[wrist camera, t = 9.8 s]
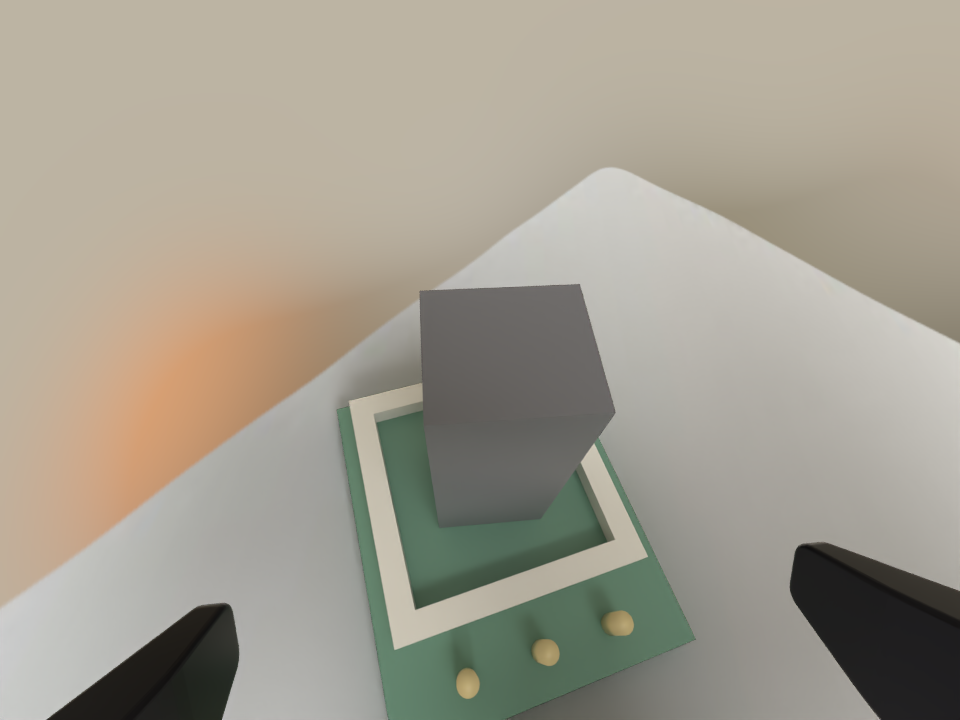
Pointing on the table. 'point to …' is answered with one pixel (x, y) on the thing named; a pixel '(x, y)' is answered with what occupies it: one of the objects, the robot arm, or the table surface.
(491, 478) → the block
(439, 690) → the green flat piece
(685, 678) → the table surface
